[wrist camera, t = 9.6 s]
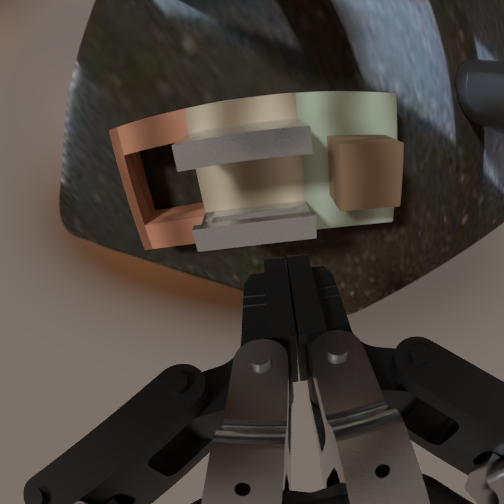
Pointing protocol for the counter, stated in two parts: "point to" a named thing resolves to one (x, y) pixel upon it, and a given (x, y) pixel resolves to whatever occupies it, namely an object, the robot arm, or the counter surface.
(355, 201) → the walnut block
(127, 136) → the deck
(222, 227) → the tunnel
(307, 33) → the counter surface
